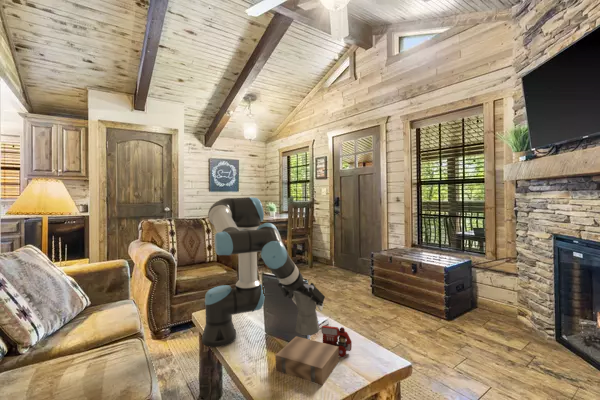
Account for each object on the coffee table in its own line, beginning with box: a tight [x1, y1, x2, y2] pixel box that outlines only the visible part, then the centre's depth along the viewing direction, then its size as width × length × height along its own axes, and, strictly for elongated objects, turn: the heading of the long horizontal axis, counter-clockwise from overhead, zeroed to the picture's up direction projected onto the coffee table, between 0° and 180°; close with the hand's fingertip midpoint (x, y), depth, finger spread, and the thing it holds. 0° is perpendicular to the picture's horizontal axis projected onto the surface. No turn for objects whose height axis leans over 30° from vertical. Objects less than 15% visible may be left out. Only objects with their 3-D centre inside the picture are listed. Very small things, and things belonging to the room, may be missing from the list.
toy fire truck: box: [321, 325, 352, 358], centre depth 123 cm, size 7×12×10 cm, turn 74°
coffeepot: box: [293, 282, 320, 336], centre depth 112 cm, size 15×9×18 cm, turn 12°
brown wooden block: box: [274, 335, 340, 386], centre depth 113 cm, size 19×16×6 cm
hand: (310, 305), depth 115 cm, fingers closed on coffeepot, 9 cm apart
